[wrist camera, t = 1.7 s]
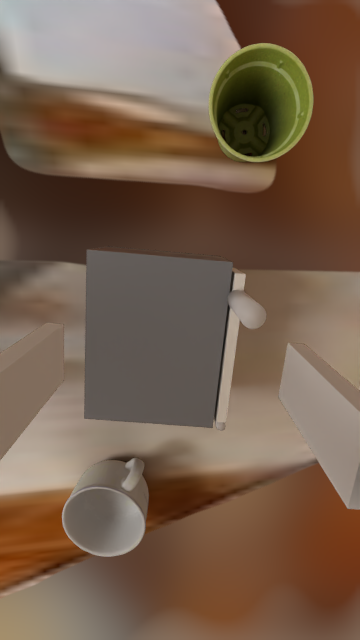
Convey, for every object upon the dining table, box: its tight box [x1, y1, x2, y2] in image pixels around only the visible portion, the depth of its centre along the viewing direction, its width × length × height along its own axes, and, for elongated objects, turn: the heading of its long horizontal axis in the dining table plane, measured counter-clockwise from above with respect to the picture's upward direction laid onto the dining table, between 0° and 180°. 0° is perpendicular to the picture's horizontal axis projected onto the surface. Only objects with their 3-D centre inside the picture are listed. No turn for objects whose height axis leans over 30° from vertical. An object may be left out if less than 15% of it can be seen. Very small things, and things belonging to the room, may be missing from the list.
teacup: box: [62, 458, 149, 556], centre depth 45 cm, size 14×11×8 cm
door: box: [214, 267, 267, 431], centre depth 35 cm, size 2×17×17 cm, turn 175°
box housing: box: [84, 247, 233, 428], centre depth 38 cm, size 14×18×10 cm
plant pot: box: [209, 43, 313, 162], centre depth 34 cm, size 9×9×9 cm
